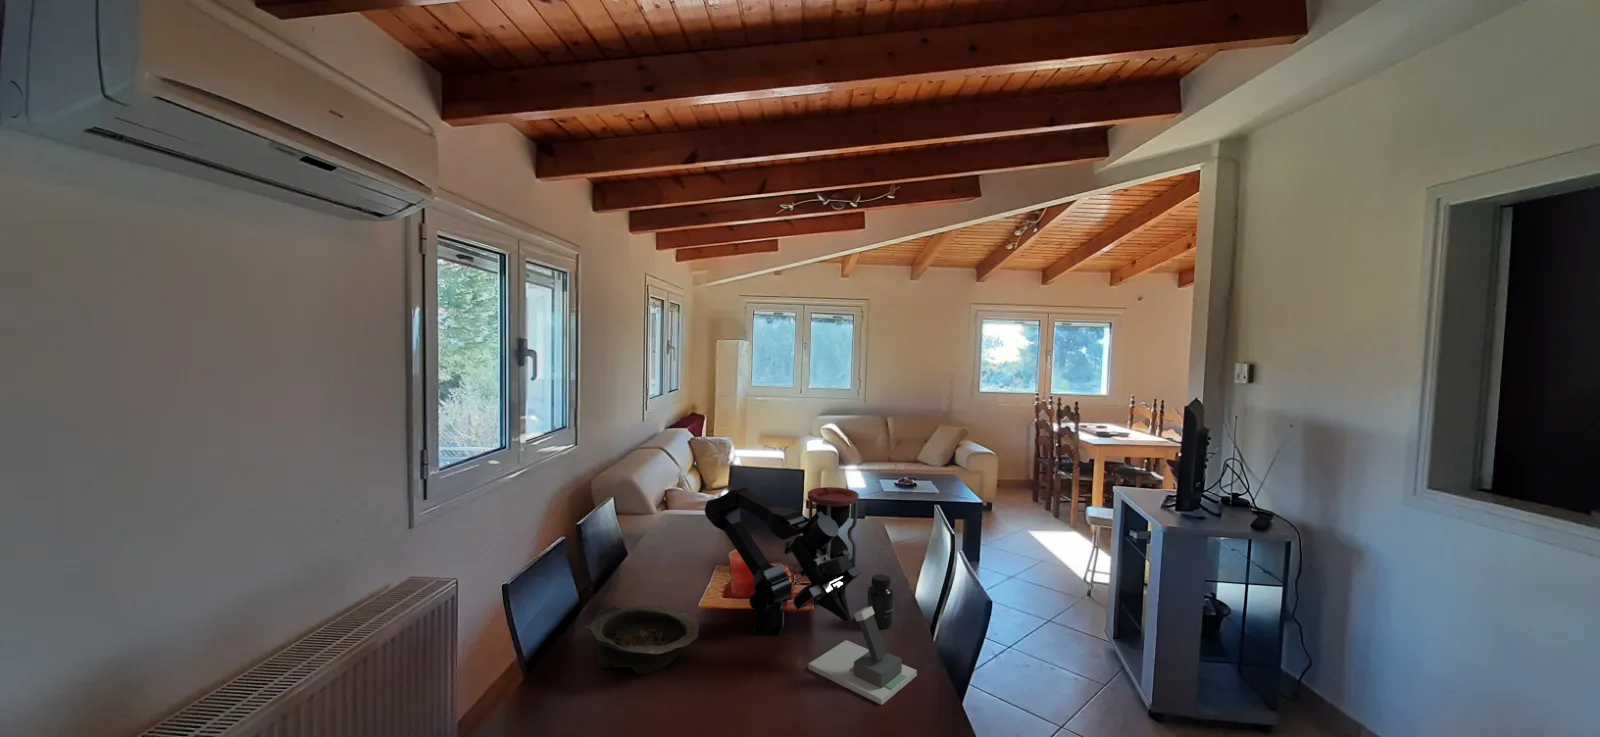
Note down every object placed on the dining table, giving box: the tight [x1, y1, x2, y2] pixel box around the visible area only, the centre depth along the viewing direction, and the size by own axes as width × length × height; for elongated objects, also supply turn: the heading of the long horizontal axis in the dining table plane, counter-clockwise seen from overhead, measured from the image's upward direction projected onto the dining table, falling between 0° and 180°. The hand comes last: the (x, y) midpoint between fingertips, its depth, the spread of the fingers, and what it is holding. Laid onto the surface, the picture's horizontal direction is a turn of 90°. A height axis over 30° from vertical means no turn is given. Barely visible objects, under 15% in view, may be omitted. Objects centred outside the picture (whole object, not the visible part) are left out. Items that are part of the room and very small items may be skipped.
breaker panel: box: [808, 640, 918, 706], centre depth 127 cm, size 19×14×4 cm
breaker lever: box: [853, 606, 889, 661], centre depth 126 cm, size 2×4×10 cm, turn 139°
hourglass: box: [807, 486, 860, 568], centre depth 184 cm, size 16×16×25 cm
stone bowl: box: [583, 604, 700, 675], centre depth 132 cm, size 25×25×9 cm
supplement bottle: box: [866, 573, 895, 630], centre depth 150 cm, size 7×7×12 cm
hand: (848, 620), depth 130 cm, fingers closed
